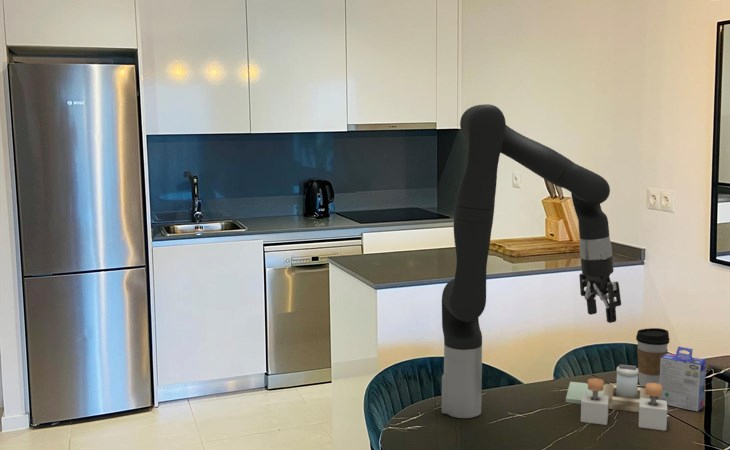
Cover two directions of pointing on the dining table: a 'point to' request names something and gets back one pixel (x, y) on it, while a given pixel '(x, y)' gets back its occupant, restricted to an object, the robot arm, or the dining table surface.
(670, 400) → the ink cartridge box
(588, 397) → the plunger posts
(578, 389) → the mat
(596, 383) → the plunger left
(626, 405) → the collar
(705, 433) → the dining table surface
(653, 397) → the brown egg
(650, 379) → the coffee cup
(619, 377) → the canister
